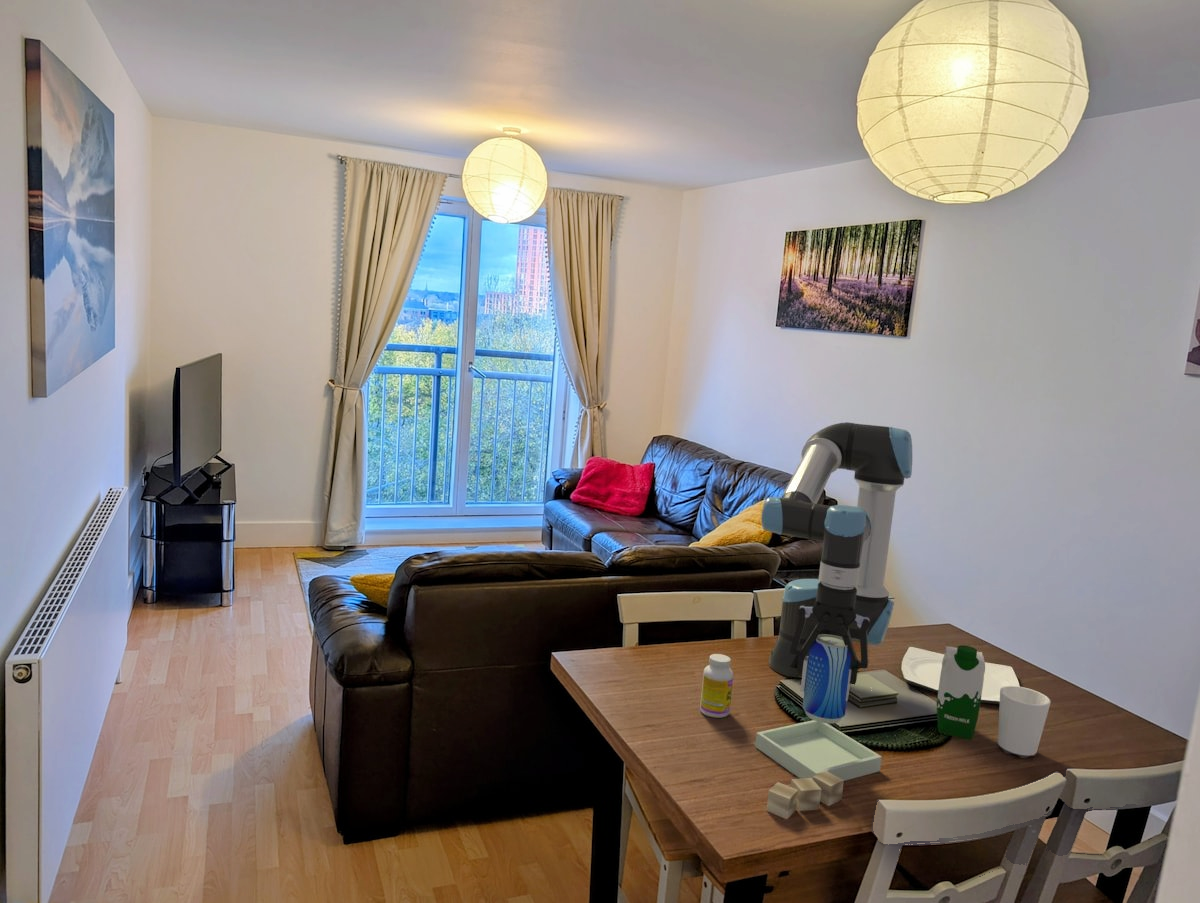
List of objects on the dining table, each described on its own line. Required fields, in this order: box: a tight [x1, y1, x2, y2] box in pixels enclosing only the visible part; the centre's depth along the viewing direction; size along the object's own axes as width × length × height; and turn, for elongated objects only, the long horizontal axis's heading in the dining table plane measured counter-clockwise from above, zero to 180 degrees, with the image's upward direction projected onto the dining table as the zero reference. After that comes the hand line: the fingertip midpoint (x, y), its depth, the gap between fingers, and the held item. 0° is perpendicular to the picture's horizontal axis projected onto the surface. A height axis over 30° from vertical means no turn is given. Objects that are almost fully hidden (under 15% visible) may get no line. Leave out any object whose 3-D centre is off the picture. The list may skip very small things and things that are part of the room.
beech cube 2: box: [790, 778, 822, 812], centre depth 159 cm, size 4×4×4 cm
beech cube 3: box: [765, 781, 798, 820], centre depth 156 cm, size 4×4×4 cm
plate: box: [900, 646, 1021, 705], centre depth 224 cm, size 29×29×3 cm
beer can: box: [802, 634, 851, 725], centre depth 174 cm, size 8×8×16 cm
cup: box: [997, 686, 1052, 759], centre depth 186 cm, size 10×10×13 cm
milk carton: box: [936, 645, 986, 741], centre depth 194 cm, size 9×9×20 cm
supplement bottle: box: [699, 653, 734, 719], centre depth 194 cm, size 7×7×13 cm
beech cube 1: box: [813, 771, 844, 807], centre depth 162 cm, size 4×4×4 cm
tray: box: [754, 719, 883, 782], centre depth 177 cm, size 18×18×3 cm
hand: (824, 693), depth 175 cm, fingers closed on beer can, 8 cm apart
